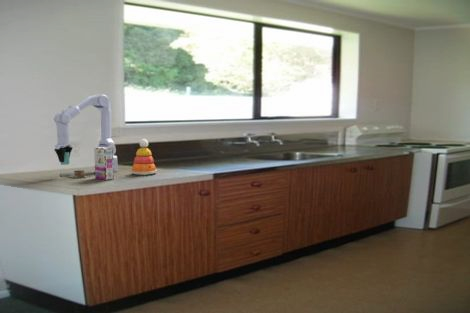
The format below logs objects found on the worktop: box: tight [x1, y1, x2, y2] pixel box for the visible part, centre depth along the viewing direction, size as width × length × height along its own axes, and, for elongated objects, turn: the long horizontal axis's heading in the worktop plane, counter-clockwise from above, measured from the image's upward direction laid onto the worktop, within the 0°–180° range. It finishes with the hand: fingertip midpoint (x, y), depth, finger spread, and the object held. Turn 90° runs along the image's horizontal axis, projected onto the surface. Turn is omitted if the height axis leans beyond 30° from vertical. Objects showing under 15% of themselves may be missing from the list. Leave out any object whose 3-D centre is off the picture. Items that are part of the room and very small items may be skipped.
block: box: [60, 152, 71, 166], centre depth 257 cm, size 4×4×6 cm
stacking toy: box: [130, 138, 158, 176], centre depth 268 cm, size 14×14×20 cm
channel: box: [73, 169, 85, 179], centre depth 260 cm, size 5×7×3 cm
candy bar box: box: [93, 146, 115, 181], centre depth 252 cm, size 11×5×16 cm, turn 45°
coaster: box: [60, 172, 71, 177], centre depth 268 cm, size 9×9×1 cm
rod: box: [69, 172, 75, 179], centre depth 260 cm, size 6×2×2 cm, turn 96°
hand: (64, 161), depth 257 cm, fingers closed on block, 5 cm apart
